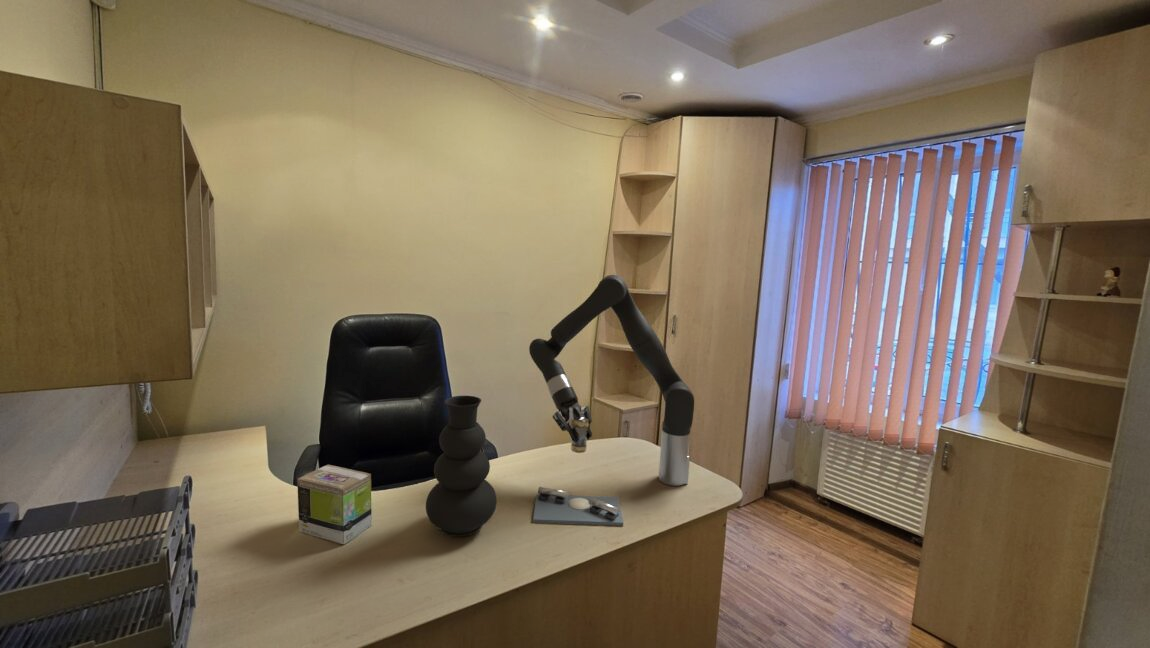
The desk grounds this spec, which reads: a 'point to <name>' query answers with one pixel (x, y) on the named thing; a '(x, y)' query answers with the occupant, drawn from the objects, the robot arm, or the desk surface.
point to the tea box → (334, 503)
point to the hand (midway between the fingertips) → (583, 439)
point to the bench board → (574, 511)
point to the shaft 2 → (599, 506)
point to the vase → (461, 473)
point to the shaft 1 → (552, 494)
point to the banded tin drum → (580, 434)
